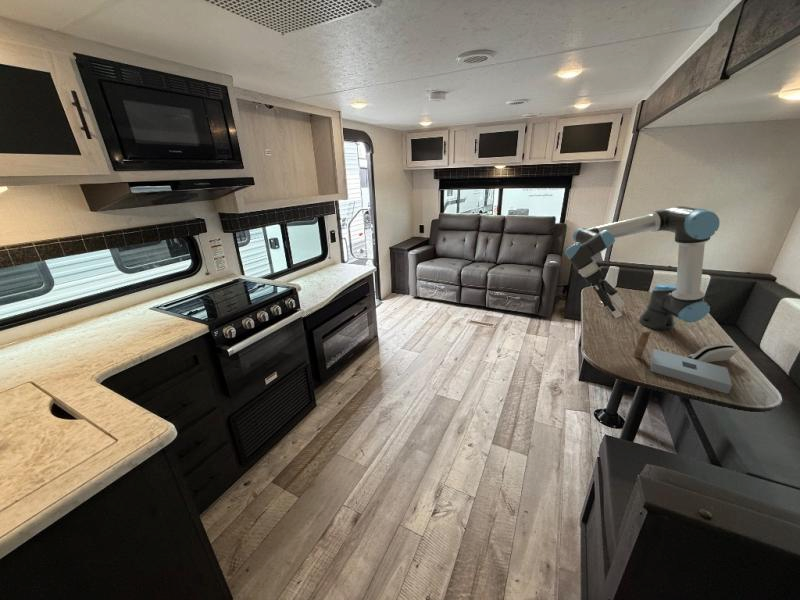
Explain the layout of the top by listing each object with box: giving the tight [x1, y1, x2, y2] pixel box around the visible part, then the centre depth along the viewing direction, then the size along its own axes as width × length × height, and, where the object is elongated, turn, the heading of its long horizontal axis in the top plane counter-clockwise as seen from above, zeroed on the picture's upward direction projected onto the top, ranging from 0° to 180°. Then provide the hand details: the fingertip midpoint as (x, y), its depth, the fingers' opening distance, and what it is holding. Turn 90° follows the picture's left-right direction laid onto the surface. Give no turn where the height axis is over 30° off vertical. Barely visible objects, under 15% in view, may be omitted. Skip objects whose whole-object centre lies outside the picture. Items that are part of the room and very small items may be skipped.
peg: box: [633, 329, 651, 359], centre depth 140 cm, size 3×3×13 cm
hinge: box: [687, 342, 739, 363], centre depth 138 cm, size 17×5×10 cm, turn 99°
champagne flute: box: [600, 265, 620, 303], centre depth 192 cm, size 7×7×24 cm
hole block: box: [649, 348, 733, 395], centre depth 130 cm, size 24×14×4 cm, turn 52°
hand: (620, 311), depth 141 cm, fingers open, 13 cm apart
